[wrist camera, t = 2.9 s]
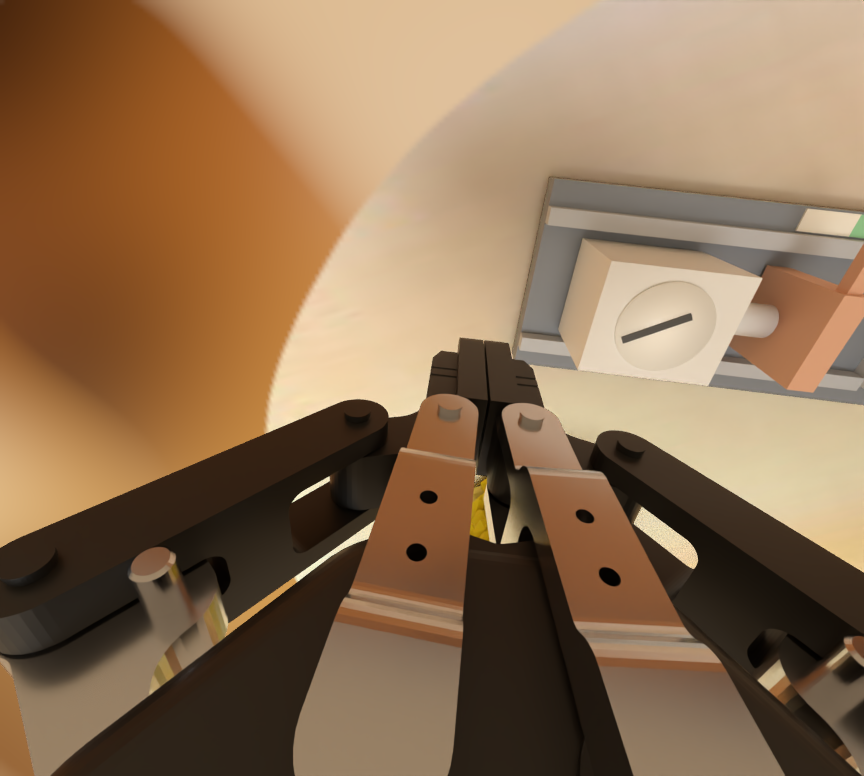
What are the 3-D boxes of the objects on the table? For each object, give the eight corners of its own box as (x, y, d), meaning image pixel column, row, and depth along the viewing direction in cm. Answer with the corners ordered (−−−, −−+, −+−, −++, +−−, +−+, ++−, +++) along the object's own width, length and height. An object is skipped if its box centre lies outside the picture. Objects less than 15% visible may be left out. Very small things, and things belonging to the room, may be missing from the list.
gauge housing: (762, 258, 20) (845, 288, 16) (717, 348, 23) (778, 397, 18) (582, 238, 21) (614, 262, 16) (558, 329, 23) (579, 373, 19)
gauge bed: (989, 224, 20) (1336, 274, 12) (863, 394, 25) (1049, 510, 17) (549, 176, 21) (599, 193, 13) (512, 352, 26) (530, 444, 18)
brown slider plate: (821, 212, 19) (921, 230, 15) (748, 347, 23) (813, 392, 19) (795, 209, 19) (887, 226, 15) (727, 344, 23) (786, 389, 19)
